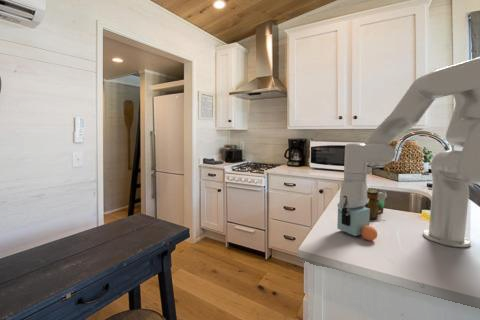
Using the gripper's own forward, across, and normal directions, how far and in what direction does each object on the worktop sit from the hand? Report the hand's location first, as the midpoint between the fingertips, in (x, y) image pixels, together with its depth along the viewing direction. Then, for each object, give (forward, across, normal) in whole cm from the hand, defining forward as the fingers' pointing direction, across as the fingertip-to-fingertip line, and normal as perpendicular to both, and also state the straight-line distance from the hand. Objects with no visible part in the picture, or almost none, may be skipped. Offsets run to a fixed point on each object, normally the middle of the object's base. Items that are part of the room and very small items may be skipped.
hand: (353, 222), depth 88 cm
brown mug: (+5, -22, -7) cm, 23 cm away
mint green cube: (+3, 0, 0) cm, 3 cm away
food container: (+5, -34, -11) cm, 36 cm away
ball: (+2, 0, +6) cm, 7 cm away
